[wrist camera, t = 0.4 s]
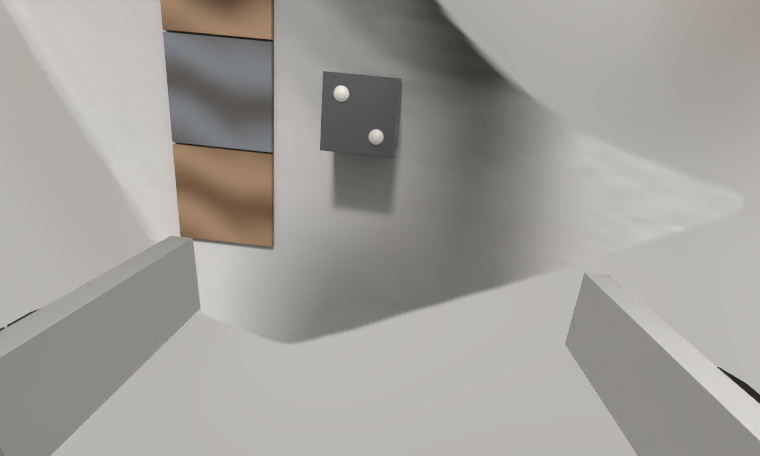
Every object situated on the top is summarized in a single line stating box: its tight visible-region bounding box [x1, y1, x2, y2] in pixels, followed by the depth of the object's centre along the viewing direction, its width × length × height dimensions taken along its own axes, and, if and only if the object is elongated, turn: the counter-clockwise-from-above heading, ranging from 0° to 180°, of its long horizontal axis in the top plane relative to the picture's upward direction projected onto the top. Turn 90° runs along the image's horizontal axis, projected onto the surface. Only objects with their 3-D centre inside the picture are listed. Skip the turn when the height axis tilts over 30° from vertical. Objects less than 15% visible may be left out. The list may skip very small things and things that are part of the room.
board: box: [160, 0, 273, 247], centre depth 35 cm, size 30×10×1 cm, turn 175°
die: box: [320, 71, 402, 158], centre depth 32 cm, size 6×6×6 cm
